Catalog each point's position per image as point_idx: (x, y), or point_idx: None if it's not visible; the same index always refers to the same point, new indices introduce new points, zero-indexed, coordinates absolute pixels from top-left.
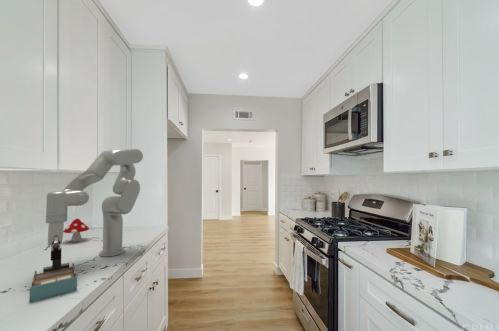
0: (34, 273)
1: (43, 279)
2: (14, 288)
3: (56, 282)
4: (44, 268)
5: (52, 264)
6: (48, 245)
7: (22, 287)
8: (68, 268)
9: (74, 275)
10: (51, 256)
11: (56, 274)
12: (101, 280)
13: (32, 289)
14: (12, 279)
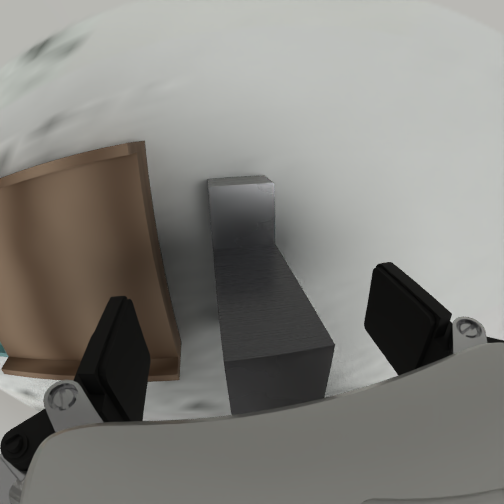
0: (57, 160)
1: (11, 229)
2: (51, 73)
3: None
4: (238, 192)
5: (214, 263)
6: (46, 439)
7: (39, 113)
8: (154, 341)
9: (5, 364)
10: (101, 328)
11: (64, 288)
12: (30, 404)
13: None
14: (251, 9)
